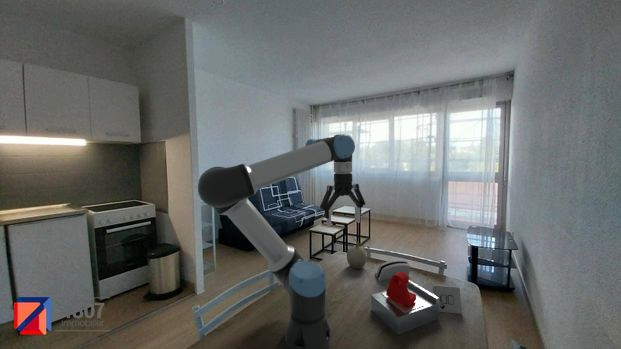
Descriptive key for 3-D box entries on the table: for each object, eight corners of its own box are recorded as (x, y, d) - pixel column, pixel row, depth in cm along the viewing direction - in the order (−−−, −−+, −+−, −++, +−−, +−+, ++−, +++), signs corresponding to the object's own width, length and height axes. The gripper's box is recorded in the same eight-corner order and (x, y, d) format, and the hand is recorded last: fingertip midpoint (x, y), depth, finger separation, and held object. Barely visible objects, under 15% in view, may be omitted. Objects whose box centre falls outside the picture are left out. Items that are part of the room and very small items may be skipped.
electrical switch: (434, 312, 88) (434, 287, 88) (430, 305, 93) (430, 281, 93) (462, 315, 86) (461, 289, 86) (456, 307, 91) (456, 283, 91)
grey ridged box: (397, 335, 76) (397, 311, 76) (371, 310, 89) (371, 290, 89) (438, 319, 84) (438, 297, 83) (408, 298, 97) (408, 279, 96)
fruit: (364, 274, 117) (364, 245, 116) (343, 269, 123) (343, 241, 122) (370, 266, 126) (370, 239, 125) (351, 261, 132) (350, 235, 131)
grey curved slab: (402, 271, 120) (407, 256, 116) (408, 278, 116) (413, 263, 112) (373, 275, 115) (377, 260, 112) (378, 283, 111) (382, 267, 107)
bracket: (417, 300, 84) (417, 274, 84) (408, 308, 80) (408, 280, 80) (395, 290, 91) (395, 266, 91) (386, 297, 87) (386, 271, 86)
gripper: (319, 174, 86) (320, 230, 87) (373, 172, 95) (373, 222, 97) (311, 173, 93) (312, 225, 94) (363, 171, 102) (363, 218, 104)
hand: (343, 224), depth 95 cm, fingers open, 13 cm apart
